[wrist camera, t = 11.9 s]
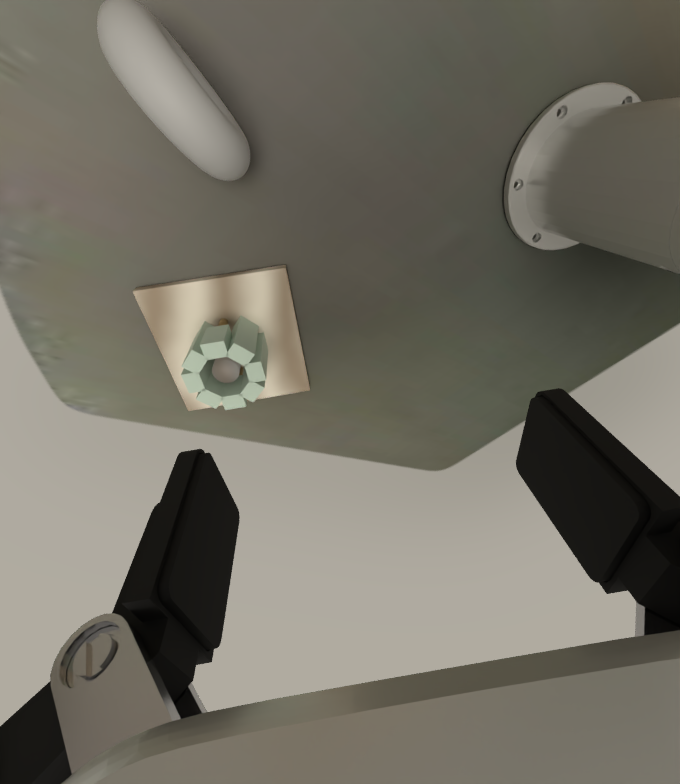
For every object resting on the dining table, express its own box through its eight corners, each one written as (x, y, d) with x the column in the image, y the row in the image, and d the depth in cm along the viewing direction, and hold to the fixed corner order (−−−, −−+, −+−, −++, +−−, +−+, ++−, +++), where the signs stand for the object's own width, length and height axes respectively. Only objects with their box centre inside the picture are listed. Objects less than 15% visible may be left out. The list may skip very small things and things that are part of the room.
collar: (257, 309, 34) (253, 336, 29) (273, 369, 38) (272, 401, 33) (185, 320, 34) (169, 349, 29) (209, 380, 38) (198, 414, 33)
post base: (285, 264, 33) (286, 284, 28) (309, 385, 41) (313, 417, 36) (136, 287, 33) (110, 312, 28) (190, 405, 41) (178, 440, 36)
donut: (123, 52, 24) (41, 3, 16) (156, 10, 23) (87, -65, 15) (234, 186, 29) (215, 201, 21) (264, 156, 28) (257, 159, 20)
